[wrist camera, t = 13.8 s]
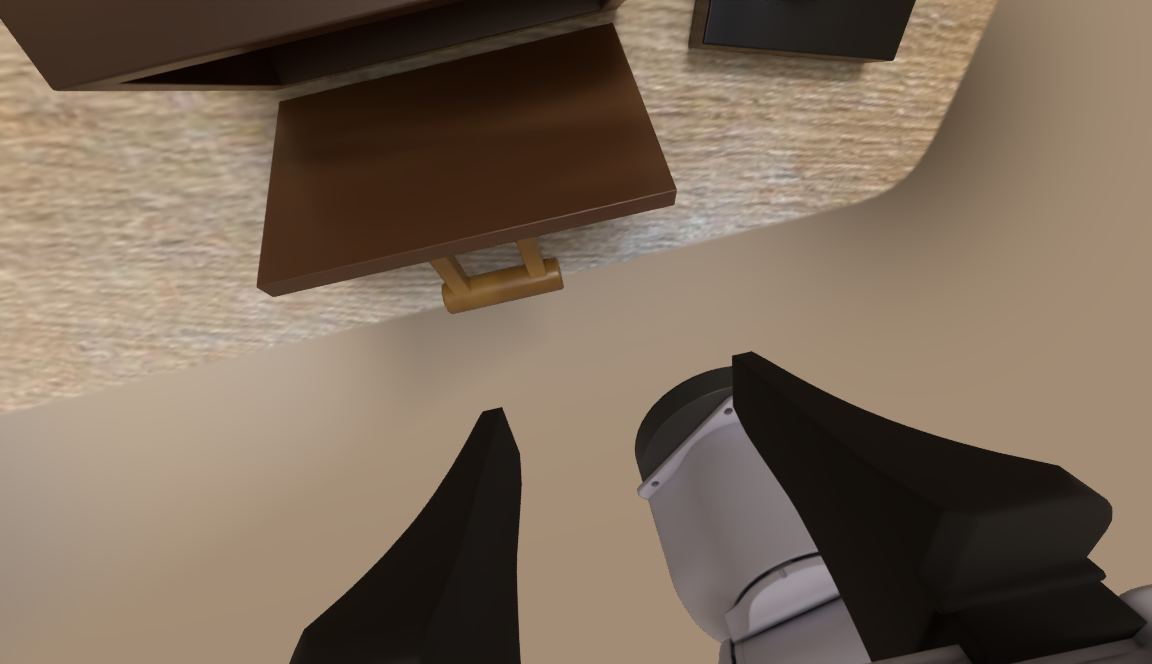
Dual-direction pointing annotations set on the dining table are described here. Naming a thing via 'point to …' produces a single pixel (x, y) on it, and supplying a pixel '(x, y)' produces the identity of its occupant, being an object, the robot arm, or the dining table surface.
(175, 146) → the dining table surface
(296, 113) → the door
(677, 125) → the dining table surface
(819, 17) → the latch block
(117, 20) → the compartment
